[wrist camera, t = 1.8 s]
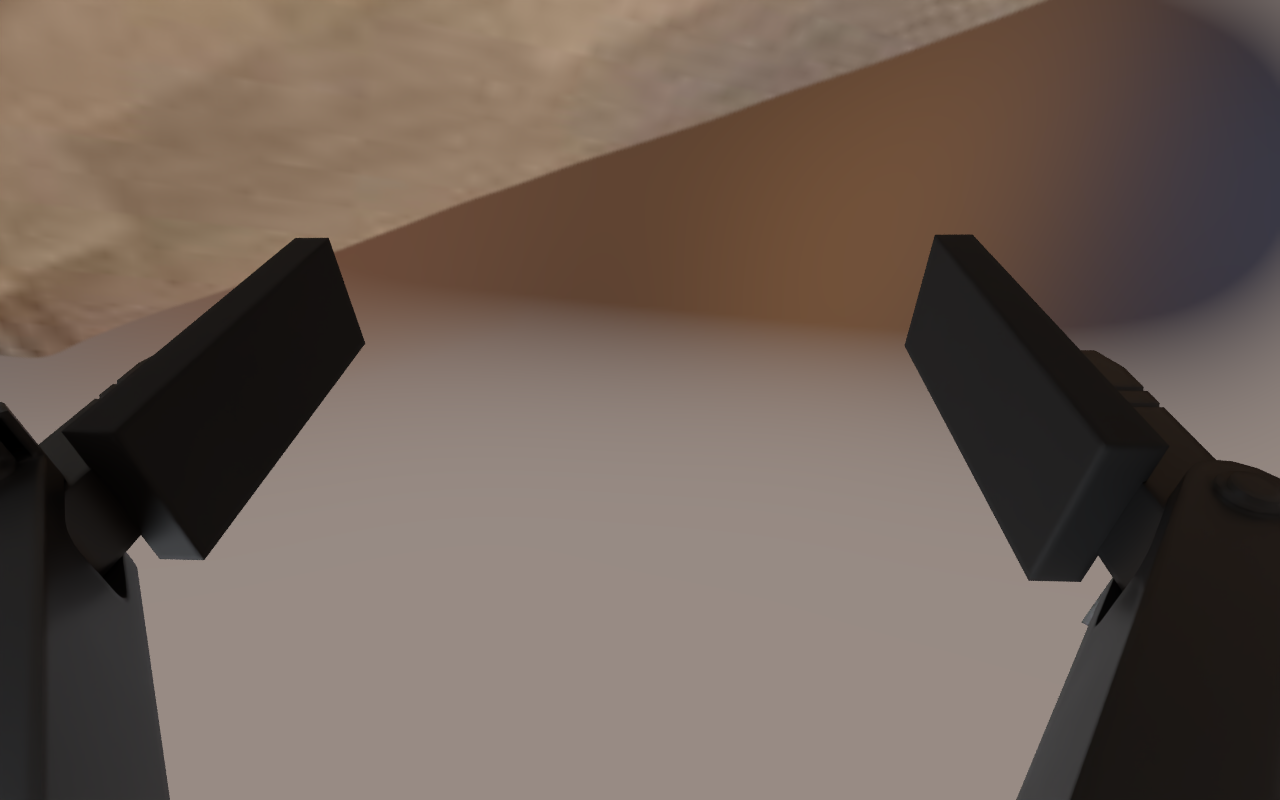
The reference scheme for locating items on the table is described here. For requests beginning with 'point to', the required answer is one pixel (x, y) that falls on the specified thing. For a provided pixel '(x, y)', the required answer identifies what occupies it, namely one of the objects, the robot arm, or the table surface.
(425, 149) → the table surface
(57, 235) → the table surface
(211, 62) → the table surface
